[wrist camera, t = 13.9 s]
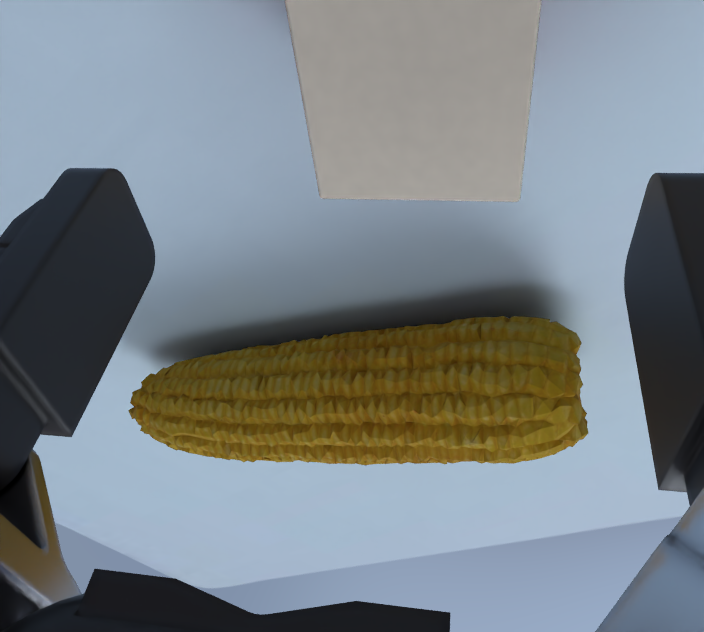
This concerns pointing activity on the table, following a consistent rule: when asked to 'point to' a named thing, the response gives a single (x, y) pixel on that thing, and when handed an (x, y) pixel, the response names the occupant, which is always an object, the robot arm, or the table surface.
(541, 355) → the food
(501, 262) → the table surface
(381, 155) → the toy cooler box
